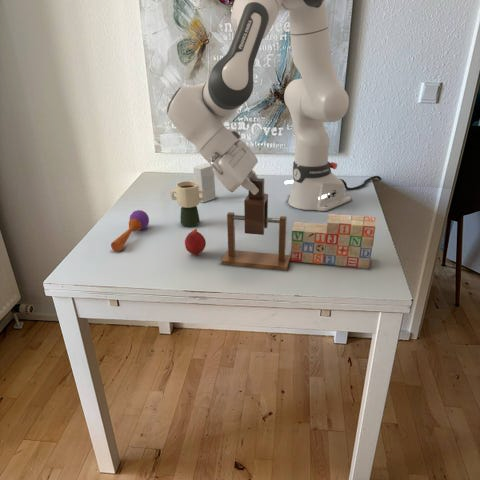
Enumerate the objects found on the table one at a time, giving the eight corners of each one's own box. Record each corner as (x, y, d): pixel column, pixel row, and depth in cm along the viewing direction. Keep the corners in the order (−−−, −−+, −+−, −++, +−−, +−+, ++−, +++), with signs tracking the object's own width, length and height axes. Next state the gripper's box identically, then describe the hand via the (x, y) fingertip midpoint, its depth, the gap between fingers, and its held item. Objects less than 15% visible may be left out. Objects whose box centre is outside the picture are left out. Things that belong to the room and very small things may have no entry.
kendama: (103, 238, 140) (131, 208, 155) (111, 256, 143) (137, 225, 158) (121, 236, 138) (148, 206, 153) (129, 254, 141) (154, 223, 156)
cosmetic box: (208, 195, 179) (206, 162, 172) (215, 198, 176) (214, 165, 170) (195, 200, 175) (193, 166, 169) (203, 203, 173) (201, 169, 166)
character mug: (208, 220, 160) (206, 181, 153) (205, 228, 154) (202, 188, 147) (176, 219, 161) (172, 180, 154) (171, 228, 155) (167, 187, 148)
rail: (221, 264, 134) (219, 217, 126) (228, 253, 139) (226, 208, 132) (286, 270, 130) (288, 223, 122) (290, 259, 136) (292, 213, 128)
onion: (198, 261, 135) (196, 235, 131) (181, 256, 138) (179, 230, 133) (210, 253, 139) (208, 227, 135) (194, 249, 142) (192, 223, 137)
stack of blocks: (289, 261, 134) (291, 219, 127) (293, 251, 139) (295, 210, 132) (369, 269, 130) (376, 225, 123) (369, 258, 135) (376, 216, 128)
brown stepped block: (249, 225, 132) (249, 175, 125) (267, 226, 131) (268, 176, 124) (244, 233, 128) (244, 182, 120) (263, 235, 127) (264, 183, 119)
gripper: (216, 150, 110) (259, 196, 113) (238, 129, 126) (275, 169, 130) (199, 169, 113) (240, 212, 117) (222, 146, 130) (258, 185, 133)
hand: (258, 190), depth 123 cm, fingers closed on brown stepped block, 2 cm apart
